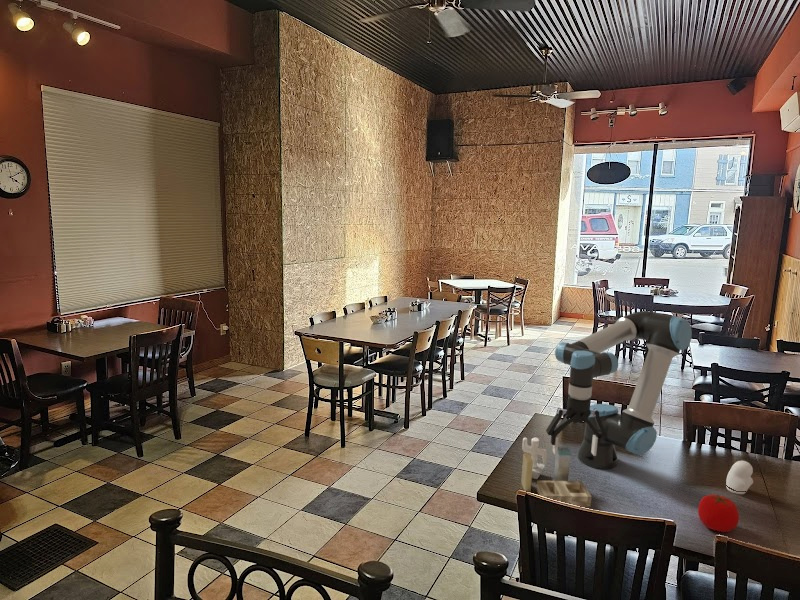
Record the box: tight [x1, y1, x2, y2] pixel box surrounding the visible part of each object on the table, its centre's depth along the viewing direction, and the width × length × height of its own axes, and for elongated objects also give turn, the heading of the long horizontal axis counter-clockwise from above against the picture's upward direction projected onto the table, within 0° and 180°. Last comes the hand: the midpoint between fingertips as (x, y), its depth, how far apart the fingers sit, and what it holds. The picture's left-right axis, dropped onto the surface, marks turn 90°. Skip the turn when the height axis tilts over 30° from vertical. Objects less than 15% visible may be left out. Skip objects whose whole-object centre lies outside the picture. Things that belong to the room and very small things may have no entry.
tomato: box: [697, 494, 740, 533], centre depth 172 cm, size 11×12×10 cm
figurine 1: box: [521, 436, 548, 480], centre depth 201 cm, size 7×9×15 cm
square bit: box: [553, 446, 572, 481], centre depth 195 cm, size 4×4×14 cm
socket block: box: [536, 479, 592, 508], centre depth 186 cm, size 16×10×4 cm, turn 90°
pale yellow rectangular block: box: [520, 452, 533, 493], centre depth 192 cm, size 2×6×12 cm, turn 0°
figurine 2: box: [725, 460, 754, 495], centre depth 194 cm, size 7×8×12 cm
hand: (574, 453), depth 184 cm, fingers open, 13 cm apart
